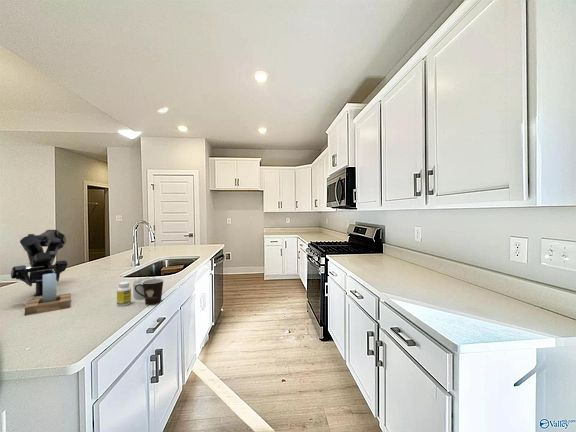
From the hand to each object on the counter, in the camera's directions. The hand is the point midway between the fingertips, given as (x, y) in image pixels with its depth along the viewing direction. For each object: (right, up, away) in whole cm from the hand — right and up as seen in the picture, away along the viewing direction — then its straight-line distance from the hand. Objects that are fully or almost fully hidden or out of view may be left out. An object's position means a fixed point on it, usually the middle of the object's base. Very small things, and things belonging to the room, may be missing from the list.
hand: (45, 283), depth 117 cm
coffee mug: (+47, -10, +2) cm, 48 cm away
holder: (+5, -9, -4) cm, 11 cm away
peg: (+5, -9, -3) cm, 11 cm away
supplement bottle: (+36, -10, 0) cm, 37 cm away
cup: (+39, -10, +13) cm, 42 cm away
